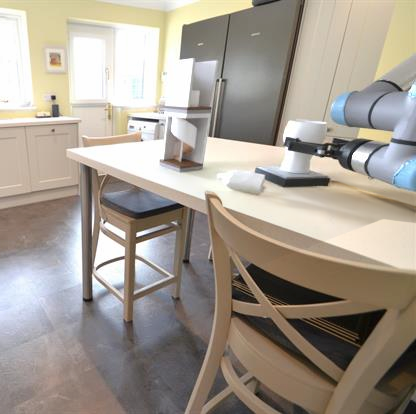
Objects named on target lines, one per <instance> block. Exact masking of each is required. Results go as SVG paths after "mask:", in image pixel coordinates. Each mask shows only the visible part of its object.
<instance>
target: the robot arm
mask: <svg viewBox="0 0 416 414" xmlns="http://www.w3.org/2000/svg"><path fill="white" fill-rule="evenodd" d="M329 115H330V118H331V120H332V121H333V122H334V123H335V124H337V125H340V126H345V127H348V128H358V129H360V128H361V129H368V130H378V131H383V132H391V133H392V136H391V138H390V140H389V141H390V142H385V141H381V140H380V141H379V140H373V139H369V138H363V137H360V138H354V139H352V140H348V139H343V138H337V137H333V138H332V141H331V142H325V143H322V144H319V143H311V142H303V141H301V140H299V138H296V139H295V138H291V137H286V138H285V141H284V140H283V145H282V146H283V147H284V148H285V147H288V149H287V150H288V151H294V152H299V153H304V154H309V155H313V156H314V157H318V158H329V159H330V158H331V159H333V160H335V161H338V163H339V165H340V166H341V168H343V169H345V170H348V171H350V172H353V173H357V174H360V175H363V176H367V179H368V180H370V181H372V180H374V179H375V180H377V181H380V182H383V183H385V184H388V185H390V186H394V187H396V188H397V189H402V190H406V191H410V192H414V193H416V52H414V53H413V54H411V55H410V56H409V57H407V58H406V59H404V60H403V61H401V62H400V63H399V64H397V65H396V66H395V67H393V68H392V69H390V70H388V72H386V73H384V74H383V75H382V76H380V77H379V78H377V79H376V80H374V81H373V82H372V83H371V84H369V85H367V86H366V87H364V88H363V89H361V90H359V91H358V90H352V91H347V92H344V93H342V94H340V95H338V96H337V97H336V98H335V99H334V101H333V102H332V104H331V107H330V111H329ZM329 147H330V148H329Z"/></svg>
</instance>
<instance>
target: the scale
mask: <svg viewBox="0 0 416 414" xmlns="http://www.w3.org/2000/svg"><path fill="white" fill-rule="evenodd" d="M280 168H281V165H258V166H257V167H255V168H254V173H257V174H263V175H265V180H266V181H267V182H270V183H273V184H275V185H277V186H280V187H282V188H304V187H305V188H307V187H328V186H329V185H330V182H331V178H330V177H329V175H326V174H323V173H320V172H317V171H314V170H311V169H309V173H306V174H300V173H291V172H286V171H283V170H281V169H280Z"/></svg>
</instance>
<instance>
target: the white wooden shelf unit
mask: <svg viewBox="0 0 416 414" xmlns="http://www.w3.org/2000/svg"><path fill="white" fill-rule="evenodd" d="M219 62H220V60H218V59H216V60H207V61H196V58H195V57H192V58H184V59H176V60H169V61H168V64H167V75H166V76H167V77H166V88H165V99H164V110H163V116H164V117H165V127H164V137H163V138H164V139H163V149H162V158H161V159H159V164H158V165H159V166H161V167H163V168H167V169H170V170H172V171H175V172H178V173H183V172H191V171H198V170H203V169H204V161H205V154H206V149H207V141H208V135H209V129H210V122H211V115H212V108H213V103H214V95H215V89H216V82H217V77H218V76H217V75H218V69H219Z"/></svg>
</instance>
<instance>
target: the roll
mask: <svg viewBox="0 0 416 414" xmlns="http://www.w3.org/2000/svg"><path fill="white" fill-rule="evenodd" d="M216 177H217V180H219V181H220V182H221V183H223V185H225V187H227V188H228V189H229V190H233V191H239V192H245V193H248V194H254V195H259V196H260V195H261V193H262V191H263V188H264V183H265V180H266V179H265V175H263V174H257V173H255V172H252V171H246V170H240V169H235V170H231V171H228V172H225V173H223V172H221V173H217V175H216Z"/></svg>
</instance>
